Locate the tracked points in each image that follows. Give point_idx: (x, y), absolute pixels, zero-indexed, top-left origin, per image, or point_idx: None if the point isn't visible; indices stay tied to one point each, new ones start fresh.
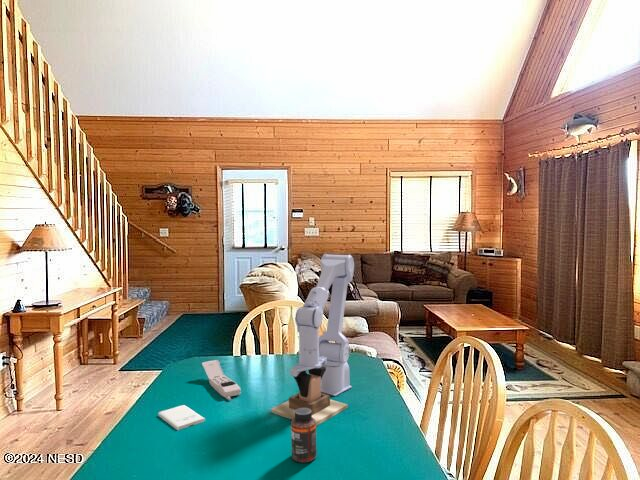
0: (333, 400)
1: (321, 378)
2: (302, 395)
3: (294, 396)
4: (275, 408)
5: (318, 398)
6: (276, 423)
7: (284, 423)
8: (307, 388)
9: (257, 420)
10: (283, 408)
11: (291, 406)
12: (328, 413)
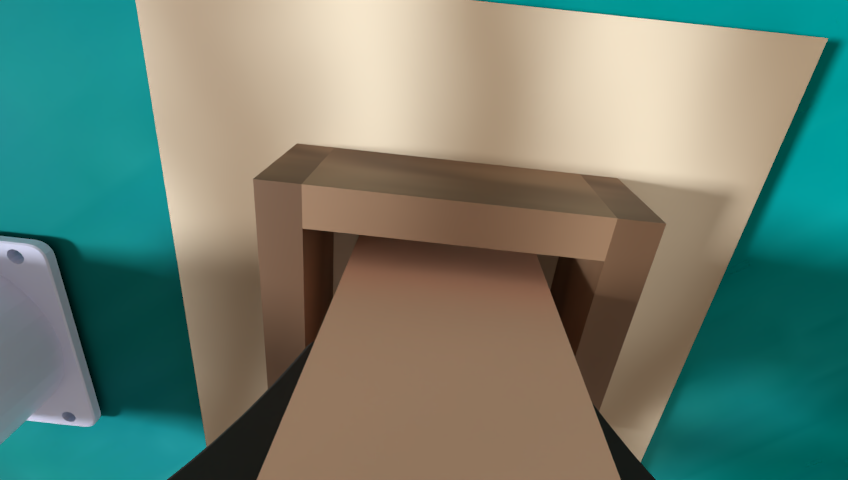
0: (168, 180)
1: (183, 475)
2: None
3: None
4: None
5: (401, 264)
6: (794, 360)
7: (777, 313)
8: (615, 461)
9: (778, 475)
10: None
11: None
12: (489, 40)
